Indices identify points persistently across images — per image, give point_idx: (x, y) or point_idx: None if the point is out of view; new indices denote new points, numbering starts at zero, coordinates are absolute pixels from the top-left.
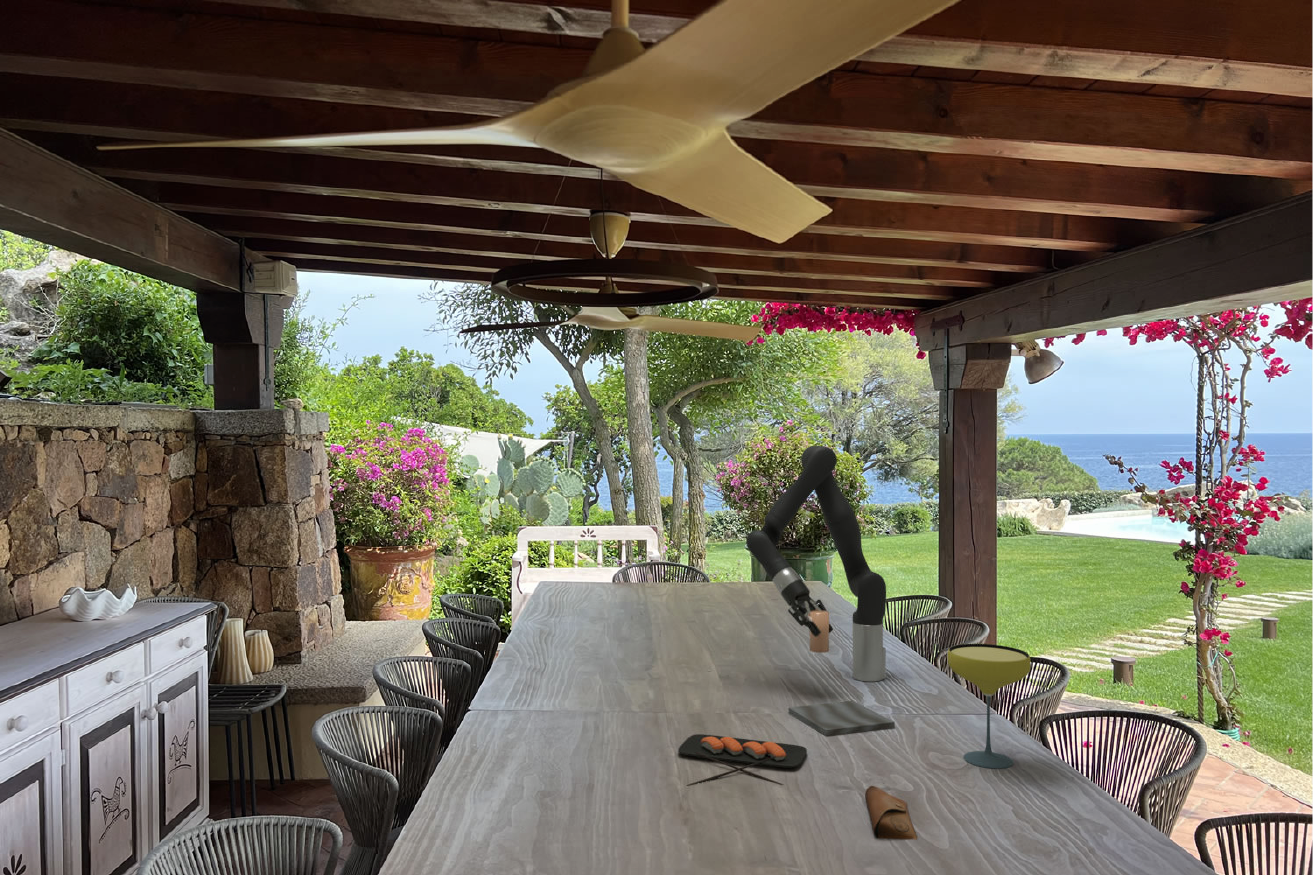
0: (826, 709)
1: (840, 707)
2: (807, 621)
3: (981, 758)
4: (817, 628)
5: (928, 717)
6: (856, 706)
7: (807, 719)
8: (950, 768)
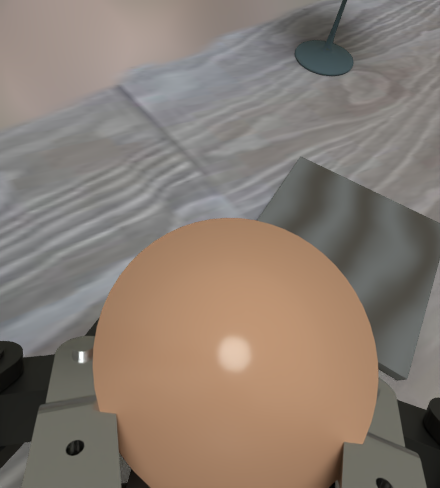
0: None
1: None
2: (406, 410)
3: (339, 56)
4: None
5: (198, 142)
6: None
7: (430, 289)
8: (386, 78)
